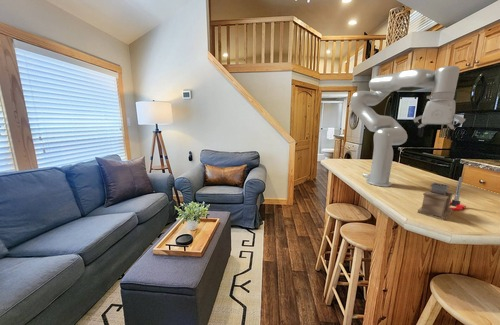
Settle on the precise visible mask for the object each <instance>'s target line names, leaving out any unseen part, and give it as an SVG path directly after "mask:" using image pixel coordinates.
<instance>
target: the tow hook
mask: <svg viewBox="0 0 500 325" xmlns="http://www.w3.org/2000/svg"><path fill="white" fill-rule="evenodd" d="M462 180H463V177H462V176H460V177H459V179H458V182H457V186H456V190H455V193H454V197H453V199H451V203H450V207H449V208H450V209H453V210H452V212H453V211H455V212H457V211H458V212H459V211H463V210H465V209H466V208H467V205H463V204H461V200H460V196H461V194H460V193H461V188H462V184H463V182H462ZM451 206H453V207H451Z"/></svg>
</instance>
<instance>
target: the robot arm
mask: <svg viewBox="0 0 500 325" xmlns="http://www.w3.org/2000/svg"><path fill="white" fill-rule="evenodd" d="M460 71H461V70H460V67H459V66H457V65H448V66H447V65H446V66H445V65H444V66H442V67H438V68H437V69H436V70H434V69H432V70H431V69H426V68H425V69H424V68H415V69H413V68H412V69H406V70H401V71H399V72H396V73H387V74H381V75H376V76H374V77H372V78H371V79H370V80H369V81H368V87H369V89H370V90H371V91H370V90H358V91H356V92H354V93H353V94H352V95H351V96H350V101H349V103H350V108H351V110H352V112H353V113H354V114H355V115H356V117H358V119H359V120H360V121H361V122H362V124H364V126H365V127H366V129H367V130H368V131H369V132H373V133H374V134H373V152H372V160H371V167H370V168H371V169H370V173H369V174H368V173H363V174H362V177H363V178H366V180H365V182H366V183H367V184H369V185H372V186H377V187H378V186H379V187H384V188H385V187H392V185H393V183H392V182H390V177H391V171H392V164H393V159H394V149H393V146H400V145H403V144H405V143H406V142H407V141H408V140H407V139H408V134H407V131H406V130H405V129H404V127H402V125H401V124H400V123H399V122H398V121H397V120H396V119H394V118H393V117H392V116H389V115H381V114H378V113H377V112H376V111H375V110H374V109H373V108H372V107H373V106H377V105H378V104H380V103H381V102H382V101H383V100H384V99H386V97H387V96H389V95H390V94H391V93H392V92H393V91H394V92H395V91H399V90H400V89H402V88H423V89H431V93H430V95H426V100H428V99H429V100H428V101H427V102H426V103H425V104H426V105H425V106H424V111H423V113H422V115H421V114H420V115H419V116H415V117H414V118H413V119H412V121H413V122H414V124H415V126H417V128H418V130H417V136H418V137H419V138H422V137H423V136H424V131H425V129H424V128H425V126H427V125H446V126H448V128H449V129H448V131H447V136H446V139H447V140H450V139H451V138H453V137H454V132H455V129H457V128H459V127H460V126H462V125H463V123H464V122H465V121H466V118H464V117H462V116H460V115H457V114H456V100H454V98H455V94H456V88H457V84H458V81H459V75H460ZM455 119H456V120H458V122H457V123H455V124H453V123H454V120H455ZM419 120H421V123H420V122H419Z"/></svg>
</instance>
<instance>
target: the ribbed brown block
mask: <svg viewBox="0 0 500 325" xmlns="http://www.w3.org/2000/svg"><path fill="white" fill-rule="evenodd" d="M422 194H423V199H422V203H421V204H422V205H421V207H419V208H418V209H417V214H421V215H424V216H429V217H431V218H435V219H438V220H441V221H446V219H447V218H449V216H450V215H451V214H452V212H453V209H450V208H449V207H451V205H450V203H451V202H452V200H453V199H452V197H453V195H455V191H452V190H447V194H446V196H445V195H440V194H436V193H431V188H430V189H429V191H425V192H423V193H422Z"/></svg>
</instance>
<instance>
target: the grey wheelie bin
mask: <svg viewBox="0 0 500 325" xmlns="http://www.w3.org/2000/svg"><path fill="white" fill-rule="evenodd" d="M430 187H431V188H430V189H431V191H430V192H431V193H436V194H440V195H445V196H446V194H447V190H448V189H450V185H448V184H443V183H437V182H433V183H432V184H430ZM448 191H449V190H448Z"/></svg>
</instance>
